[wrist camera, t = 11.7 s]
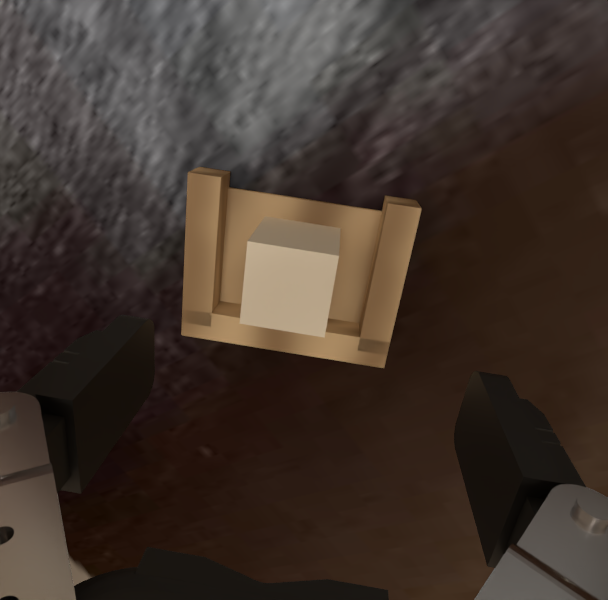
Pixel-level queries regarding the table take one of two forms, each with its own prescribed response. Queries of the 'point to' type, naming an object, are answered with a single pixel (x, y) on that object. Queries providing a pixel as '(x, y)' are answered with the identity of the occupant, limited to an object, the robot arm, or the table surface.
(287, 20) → the table surface
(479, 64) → the table surface
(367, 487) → the table surface
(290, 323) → the block
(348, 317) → the rest cradle
